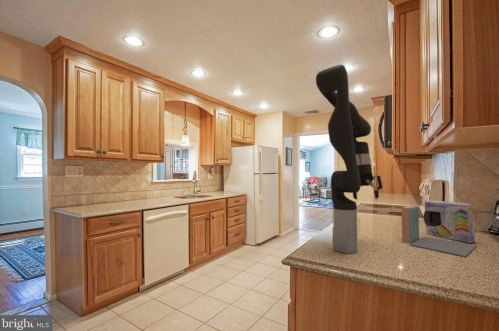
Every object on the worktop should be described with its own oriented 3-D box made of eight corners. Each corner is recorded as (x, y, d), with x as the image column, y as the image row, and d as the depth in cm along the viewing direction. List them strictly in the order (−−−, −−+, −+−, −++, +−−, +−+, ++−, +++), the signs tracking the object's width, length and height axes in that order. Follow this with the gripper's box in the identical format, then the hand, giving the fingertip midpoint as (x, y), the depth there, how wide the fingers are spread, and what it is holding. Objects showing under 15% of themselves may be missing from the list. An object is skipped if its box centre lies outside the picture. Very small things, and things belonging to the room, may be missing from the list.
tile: (410, 243, 106) (409, 208, 107) (402, 241, 109) (401, 207, 109) (419, 238, 114) (418, 205, 114) (411, 237, 116) (410, 204, 117)
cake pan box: (423, 233, 123) (422, 200, 123) (429, 232, 125) (428, 199, 125) (469, 244, 105) (468, 204, 105) (475, 242, 107) (474, 203, 107)
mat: (465, 257, 89) (465, 255, 89) (409, 245, 103) (409, 244, 103) (476, 246, 101) (476, 245, 101) (424, 237, 116) (424, 236, 116)
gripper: (344, 165, 111) (347, 200, 109) (378, 162, 103) (382, 199, 101) (348, 166, 117) (351, 198, 115) (380, 162, 109) (384, 198, 107)
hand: (366, 199), depth 108 cm, fingers open, 8 cm apart
